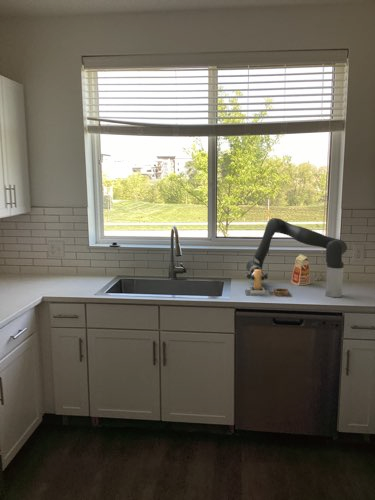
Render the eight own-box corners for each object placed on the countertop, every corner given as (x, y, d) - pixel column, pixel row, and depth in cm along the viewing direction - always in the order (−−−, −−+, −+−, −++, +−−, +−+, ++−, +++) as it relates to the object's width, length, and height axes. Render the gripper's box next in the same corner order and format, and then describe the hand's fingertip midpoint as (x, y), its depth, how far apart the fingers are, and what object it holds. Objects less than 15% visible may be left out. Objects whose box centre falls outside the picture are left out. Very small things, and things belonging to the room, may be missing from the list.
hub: (267, 291, 255) (268, 286, 255) (270, 298, 241) (270, 292, 241) (244, 291, 257) (245, 285, 256) (245, 297, 243) (246, 291, 242)
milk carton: (290, 282, 279) (292, 253, 276) (301, 281, 283) (303, 252, 279) (299, 285, 271) (301, 255, 267) (311, 284, 274) (312, 254, 271)
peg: (261, 292, 250) (262, 269, 248) (260, 294, 246) (260, 271, 244) (254, 291, 252) (254, 269, 249) (252, 293, 248) (253, 270, 245)
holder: (288, 293, 250) (288, 288, 250) (291, 298, 241) (291, 292, 240) (271, 293, 251) (272, 287, 251) (273, 297, 242) (273, 292, 241)
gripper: (244, 266, 261) (245, 272, 245) (267, 266, 260) (270, 272, 243) (244, 277, 263) (245, 284, 246) (267, 278, 261) (270, 285, 245)
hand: (258, 278), depth 245 cm, fingers open, 5 cm apart
